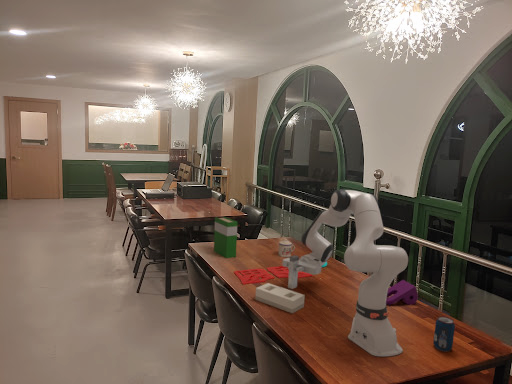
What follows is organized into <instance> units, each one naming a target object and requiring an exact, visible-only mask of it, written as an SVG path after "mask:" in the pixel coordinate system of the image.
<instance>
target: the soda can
mask: <svg viewBox="0 0 512 384" xmlns="http://www.w3.org/2000/svg"><path fill="white" fill-rule="evenodd" d="M455 329H456V324H455V321H454V319H452V318H450V317H448V316H444V315H443V316H438V317H437V319H436V320H435V326H434V333H433V335H434V336H433V346H434V347H435V349H437V350H439V351H440V352H445V353H446V352H450V351H451V350H452V349H453V346H454V345H453V344H454V336H455V331H456V330H455Z"/></svg>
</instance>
